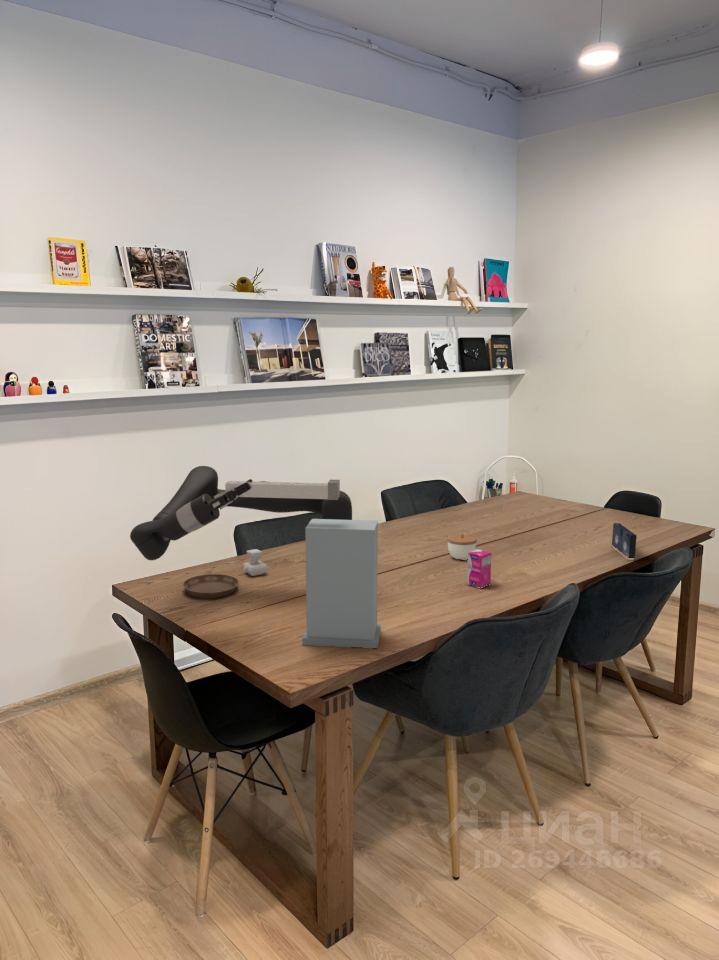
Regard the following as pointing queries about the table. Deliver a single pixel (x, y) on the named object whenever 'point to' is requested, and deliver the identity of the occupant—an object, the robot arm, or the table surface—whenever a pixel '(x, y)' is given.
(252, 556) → the stamp
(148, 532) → the robot arm
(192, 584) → the plant saucer
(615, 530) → the vhs cassette tape
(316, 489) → the shaft
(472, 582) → the supplement box
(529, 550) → the table surface
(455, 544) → the lidded jar
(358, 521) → the stand
